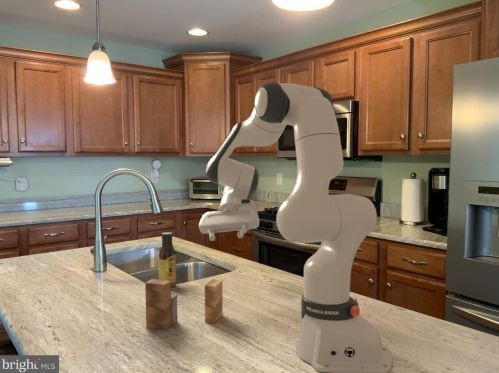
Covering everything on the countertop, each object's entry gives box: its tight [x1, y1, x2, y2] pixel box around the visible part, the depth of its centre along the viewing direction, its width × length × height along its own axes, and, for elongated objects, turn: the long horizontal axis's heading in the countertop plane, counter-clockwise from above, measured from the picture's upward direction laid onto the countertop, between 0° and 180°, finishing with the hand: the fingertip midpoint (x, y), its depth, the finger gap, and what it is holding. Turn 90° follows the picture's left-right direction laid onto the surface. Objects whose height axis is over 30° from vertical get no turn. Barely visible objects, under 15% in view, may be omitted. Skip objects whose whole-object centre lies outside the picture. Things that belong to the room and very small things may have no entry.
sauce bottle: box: [158, 232, 177, 288], centre depth 148 cm, size 7×6×20 cm
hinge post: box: [144, 278, 178, 331], centre depth 114 cm, size 7×6×13 cm
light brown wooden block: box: [204, 279, 224, 325], centre depth 118 cm, size 3×6×11 cm, turn 163°
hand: (225, 237), depth 127 cm, fingers open, 8 cm apart
